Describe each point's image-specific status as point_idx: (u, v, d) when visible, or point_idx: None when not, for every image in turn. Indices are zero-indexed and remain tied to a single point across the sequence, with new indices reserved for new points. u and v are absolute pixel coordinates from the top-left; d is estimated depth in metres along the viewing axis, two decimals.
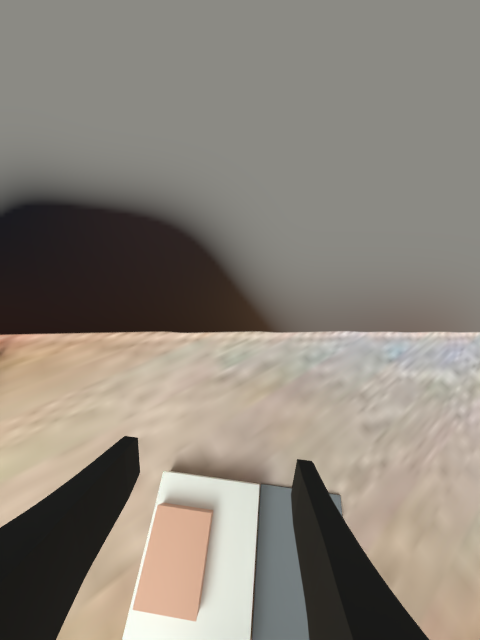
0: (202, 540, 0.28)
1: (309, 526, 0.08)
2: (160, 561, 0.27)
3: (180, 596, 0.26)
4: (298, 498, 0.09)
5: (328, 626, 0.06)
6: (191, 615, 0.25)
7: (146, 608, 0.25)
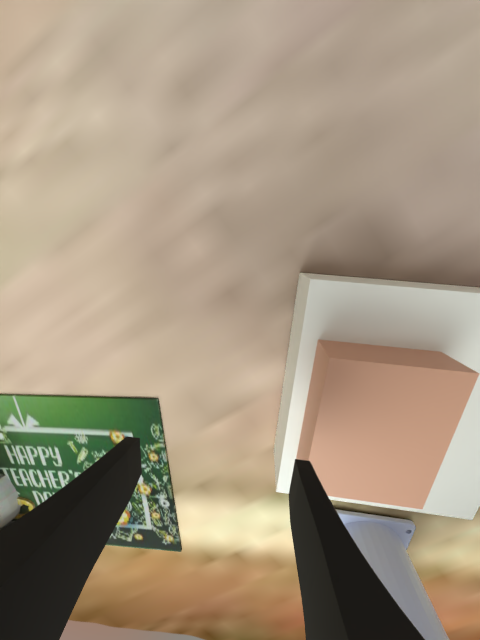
0: (448, 418, 0.12)
1: (306, 525, 0.08)
2: (347, 443, 0.13)
3: (393, 484, 0.13)
4: (295, 498, 0.09)
5: (324, 625, 0.06)
6: (414, 503, 0.14)
7: (327, 492, 0.14)
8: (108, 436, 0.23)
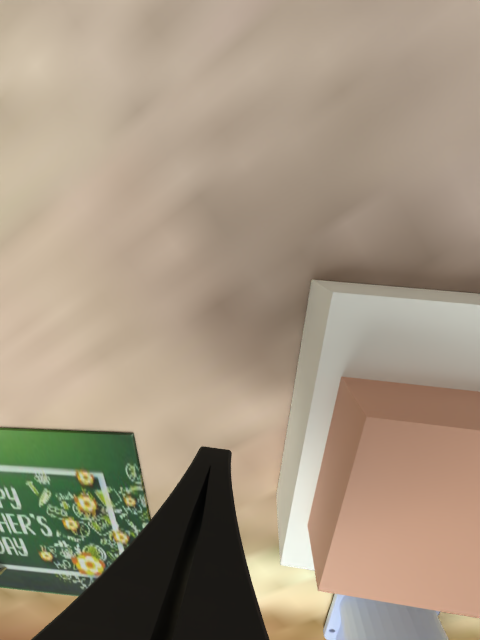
0: None
1: None
2: (388, 534, 0.09)
3: (451, 588, 0.09)
4: None
5: None
6: (479, 612, 0.10)
7: (354, 592, 0.10)
8: (74, 477, 0.18)
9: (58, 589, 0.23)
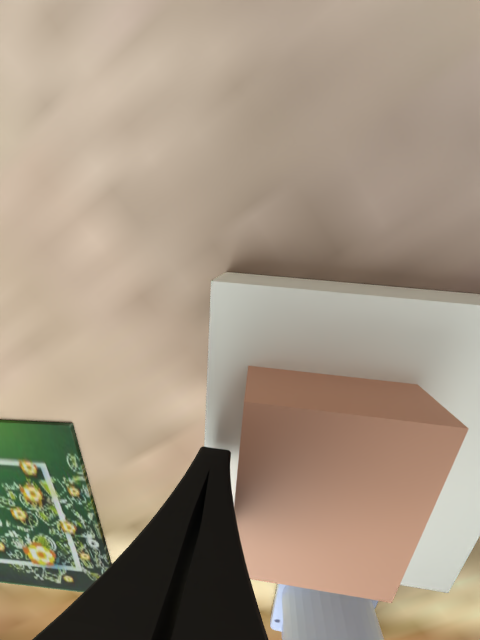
0: (423, 489, 0.08)
1: None
2: (282, 518, 0.09)
3: (350, 571, 0.10)
4: None
5: None
6: (380, 595, 0.10)
7: (261, 576, 0.10)
8: (18, 467, 0.19)
9: (12, 579, 0.23)
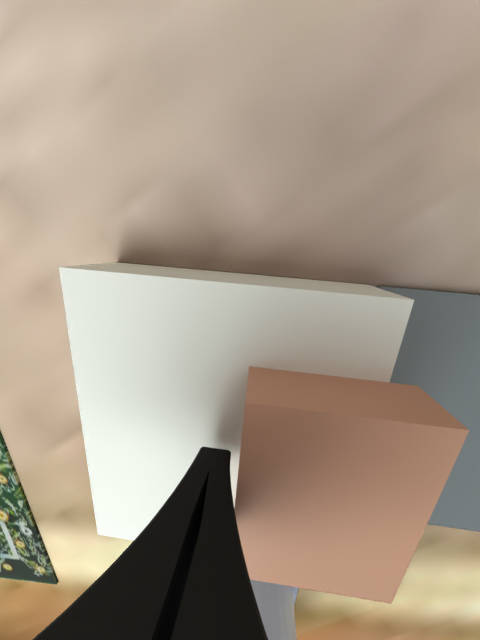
0: (423, 491, 0.08)
1: None
2: (283, 518, 0.09)
3: (350, 572, 0.10)
4: None
5: None
6: (379, 596, 0.10)
7: (261, 577, 0.10)
8: None
9: None
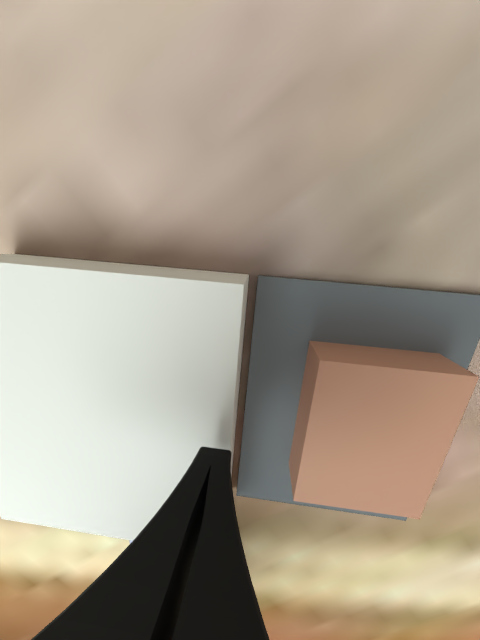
0: None
1: None
2: None
3: None
4: None
5: None
6: None
7: None
8: None
9: None
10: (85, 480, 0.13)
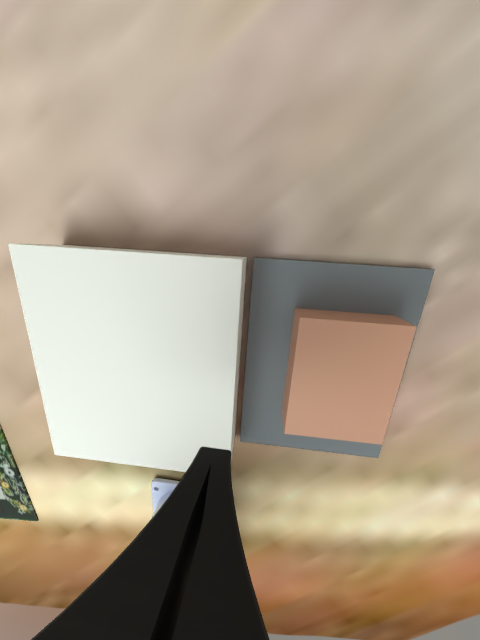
0: None
1: None
2: None
3: None
4: None
5: None
6: None
7: None
8: None
9: None
10: (123, 417, 0.17)
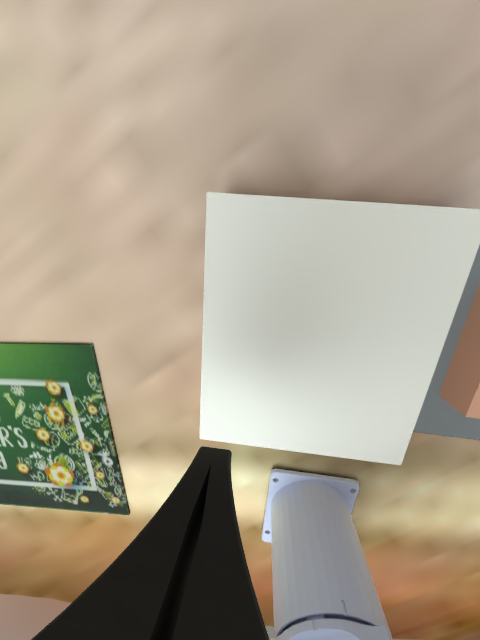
0: None
1: None
2: None
3: None
4: None
5: None
6: None
7: None
8: (44, 387, 0.22)
9: (34, 502, 0.26)
10: (293, 396, 0.15)
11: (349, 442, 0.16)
